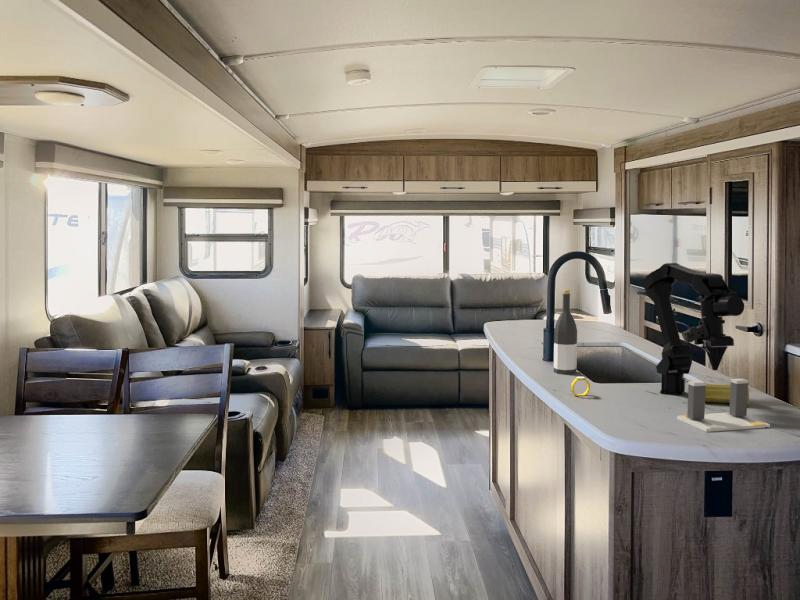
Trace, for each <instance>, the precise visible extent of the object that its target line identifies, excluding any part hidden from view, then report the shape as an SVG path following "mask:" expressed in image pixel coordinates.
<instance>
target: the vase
mask: <svg viewBox="0 0 800 600" xmlns="http://www.w3.org/2000/svg"><path fill="white" fill-rule="evenodd" d="M730 389H731V384H713V383H712V384H708V383H706V388H705V403H719V404H721V403H723V404H725V403H726V404H730ZM749 403H750V389H749V387H748V395H747V405H749Z"/></svg>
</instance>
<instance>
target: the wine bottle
mask: <svg viewBox="0 0 800 600" xmlns="http://www.w3.org/2000/svg"><path fill="white" fill-rule="evenodd" d="M570 307H571V293H570V289H563V293H562V311H561V313H560V315H559V317H558V318H557V320H556V323H555V325H554V330H553V333H554V334H553V372H554V373H556V374H559V375H574V374H576V373H577V364H578V363H577V361H578V359H577V356H578V353H577V352H578V328H577V327H578V326H577V324H576V320H575V318H574V317H573V314H572V313H571V310H570V309H571V308H570Z"/></svg>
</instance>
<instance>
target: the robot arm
mask: <svg viewBox="0 0 800 600" xmlns="http://www.w3.org/2000/svg"><path fill="white" fill-rule="evenodd" d="M677 281H680V282H683V283H685V284H687V285H690V286H691V288H692V289H693V290H694V291H695V292H697V293H698V294H699V295H698V297H696V299H695V302H696V303H699V304H700V317H701V319H700V320H699V321H698V326H695V325H694V326H692V327H689V328H688V329H687V330H685V331H683V332H680V333H681V336H680V333H679V330H678V325H677V321H676V317H675V314H674V310H673V306H672V304H671V302H672V301H671V299H670V298H671V295H672V292H673V285H674V284H676V282H677ZM642 285H643V289H644V290H645V291H644V292H645V293H646V296H647V297H648V298H649V299H650V301H652V302H653V304H654V308H655V312H656V316H657V320H658V325H659V328H660V332H661V336H662V340H663V348H662V352H661V360H660V361H659V362H658V363H657V364H656V366H655V367H656V368H655V369H656V373H657V374H660V375H661V385H660V386H661V387H660V391H659V393H660V394H665V393H666V394H667V395H676V396H682V395H683V394H684V393H685V391H686V377H685V376H684V375H688V374H690V371H691V367H692V364H693V355H692V352H691V349H690V348H691V347H690V345H689V344H690V343H693V342H694V343H693V344H694V345H697V346H699V345H702V346H699V347H700V348H701V349H702V350H703V351H704V352H705V353H706V354H707V357H708V360H709V363H710V366H711V369H712V371H718V370H719V367H720V364H721V362H722V359H723V358H724V354H725V353H726V351H727V349H728V347H734V346H735V341H734V340H735V339H734V338H733V337H732V336H730V335H726V333H724V324H726V320H725V319H723V317H737V316H740V315H742V314H743V312H744V310H745V303H744V301H743V298H741V296H739V295H738V291H732V290H731V289H730V287H729V286H728V284H727V283H726V281H725V280H724V277H723V275H722V274H721V273H712V272H711V273H710V272H700V271H697V270H695V269H692V268H690V267H689V268H688V267H686V266H683V265H681V264H680V263H677V262H671V263H670V262H666V263H663V264H662V265H661V266H660V267H659V268H656V269H655V270H653V271H651V272H650V273H649V274H647V275H646V276H645V278H644V279H643V281H642ZM681 337H682V339H683V341H684V343H687V344H684V343H683V342H682V340H681ZM682 393H683V394H682Z"/></svg>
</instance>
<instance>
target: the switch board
mask: <svg viewBox="0 0 800 600" xmlns="http://www.w3.org/2000/svg"><path fill="white" fill-rule="evenodd" d="M677 420H679V421H681V422H684V423H685V424H688V425H690V426H693V427H694V428H696V429H699V430H701V431H703V432H705V433H708V432H709V433H710V432H721V431H736V430H739V431H740V430H749V429H751V430H752V429H763V428H764V429H766V428H765V427H768V428H771V424H770V423H768V422H765V421H762V420H760V419H757V418H755V417H752V416H750V415H747V416H739V417H735V416H732V415H730V414H729V411H726V412H725V411H724V412H717V413H704V419H694V420H692V419H690V418H688V417H687V414H681V415H677Z"/></svg>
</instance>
